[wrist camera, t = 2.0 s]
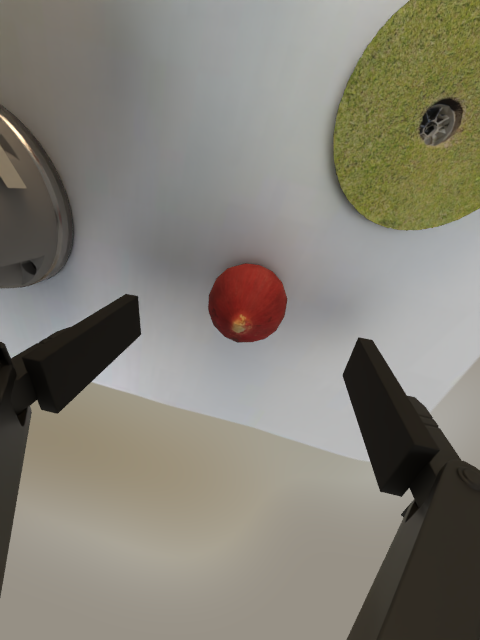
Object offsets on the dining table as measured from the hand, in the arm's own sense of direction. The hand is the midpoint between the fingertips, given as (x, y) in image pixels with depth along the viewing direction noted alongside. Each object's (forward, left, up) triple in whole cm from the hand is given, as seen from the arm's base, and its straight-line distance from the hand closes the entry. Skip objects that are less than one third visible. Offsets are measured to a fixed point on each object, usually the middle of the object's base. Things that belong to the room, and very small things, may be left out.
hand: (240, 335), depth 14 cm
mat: (+9, +12, -8) cm, 17 cm away
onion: (0, 0, -8) cm, 8 cm away
